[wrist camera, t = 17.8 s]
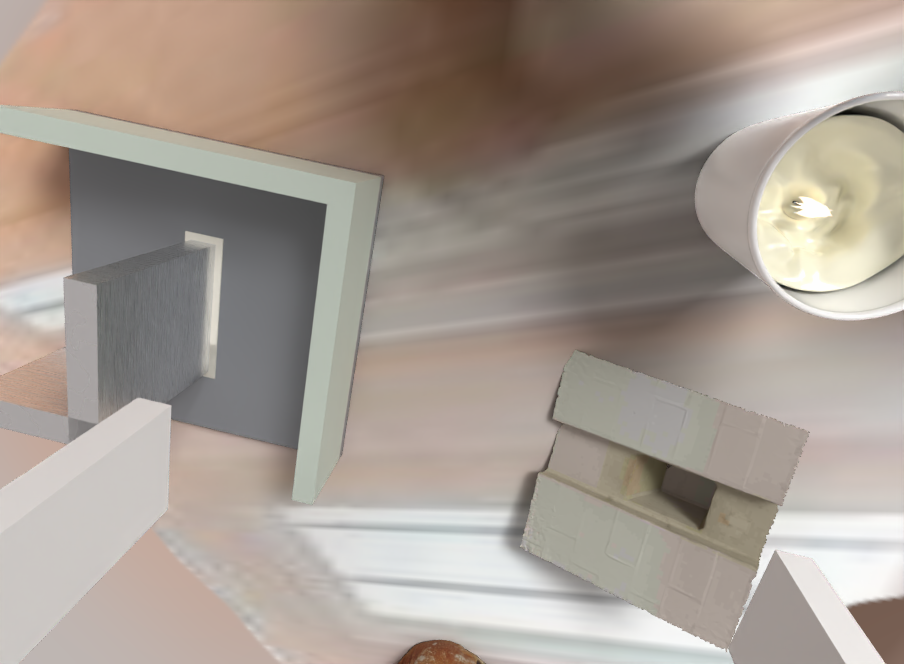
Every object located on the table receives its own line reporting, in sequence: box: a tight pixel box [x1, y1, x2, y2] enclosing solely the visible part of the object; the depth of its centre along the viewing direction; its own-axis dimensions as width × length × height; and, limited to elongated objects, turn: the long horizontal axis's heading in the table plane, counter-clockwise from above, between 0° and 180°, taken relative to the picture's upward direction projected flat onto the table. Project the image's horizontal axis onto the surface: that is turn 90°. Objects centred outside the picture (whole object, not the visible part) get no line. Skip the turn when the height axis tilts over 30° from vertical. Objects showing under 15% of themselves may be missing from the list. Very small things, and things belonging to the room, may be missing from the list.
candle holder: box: [695, 91, 904, 321], centre depth 30 cm, size 10×10×12 cm
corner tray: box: [0, 105, 384, 505], centre depth 39 cm, size 22×22×7 cm
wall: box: [520, 350, 810, 652], centre depth 40 cm, size 16×9×15 cm
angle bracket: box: [0, 240, 216, 444], centre depth 37 cm, size 10×8×12 cm
